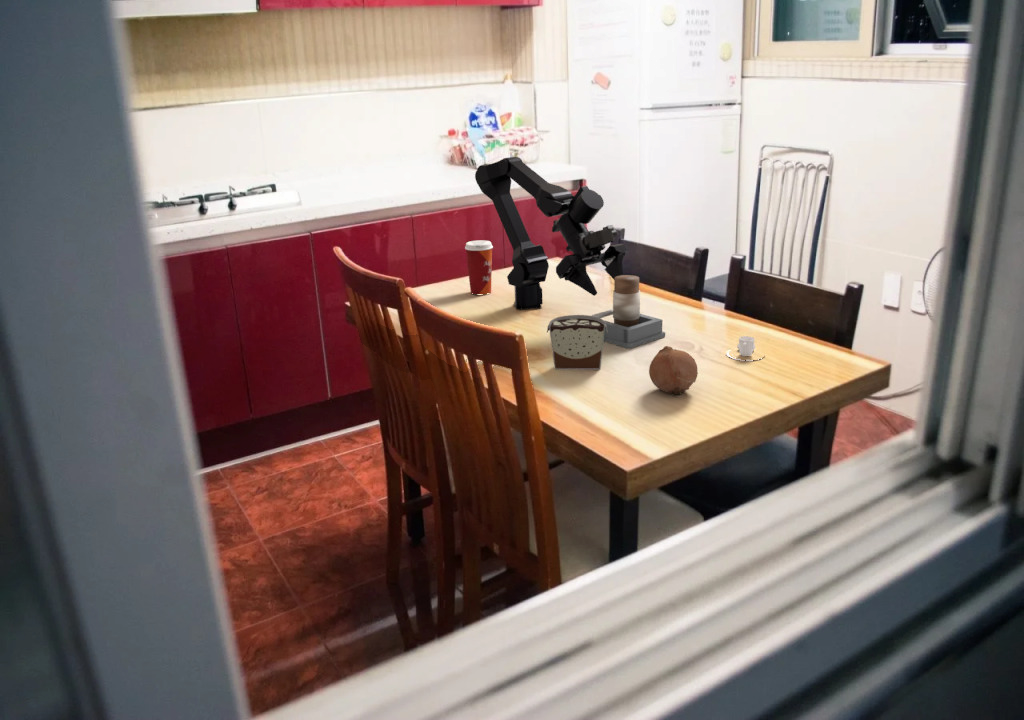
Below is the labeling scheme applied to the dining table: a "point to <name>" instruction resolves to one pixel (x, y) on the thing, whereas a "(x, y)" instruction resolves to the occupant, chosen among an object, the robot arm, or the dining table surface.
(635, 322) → the cord spool
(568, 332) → the food container
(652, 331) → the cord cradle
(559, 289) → the dining table surface
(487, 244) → the paper cup
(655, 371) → the onion
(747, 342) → the teacup and saucer
